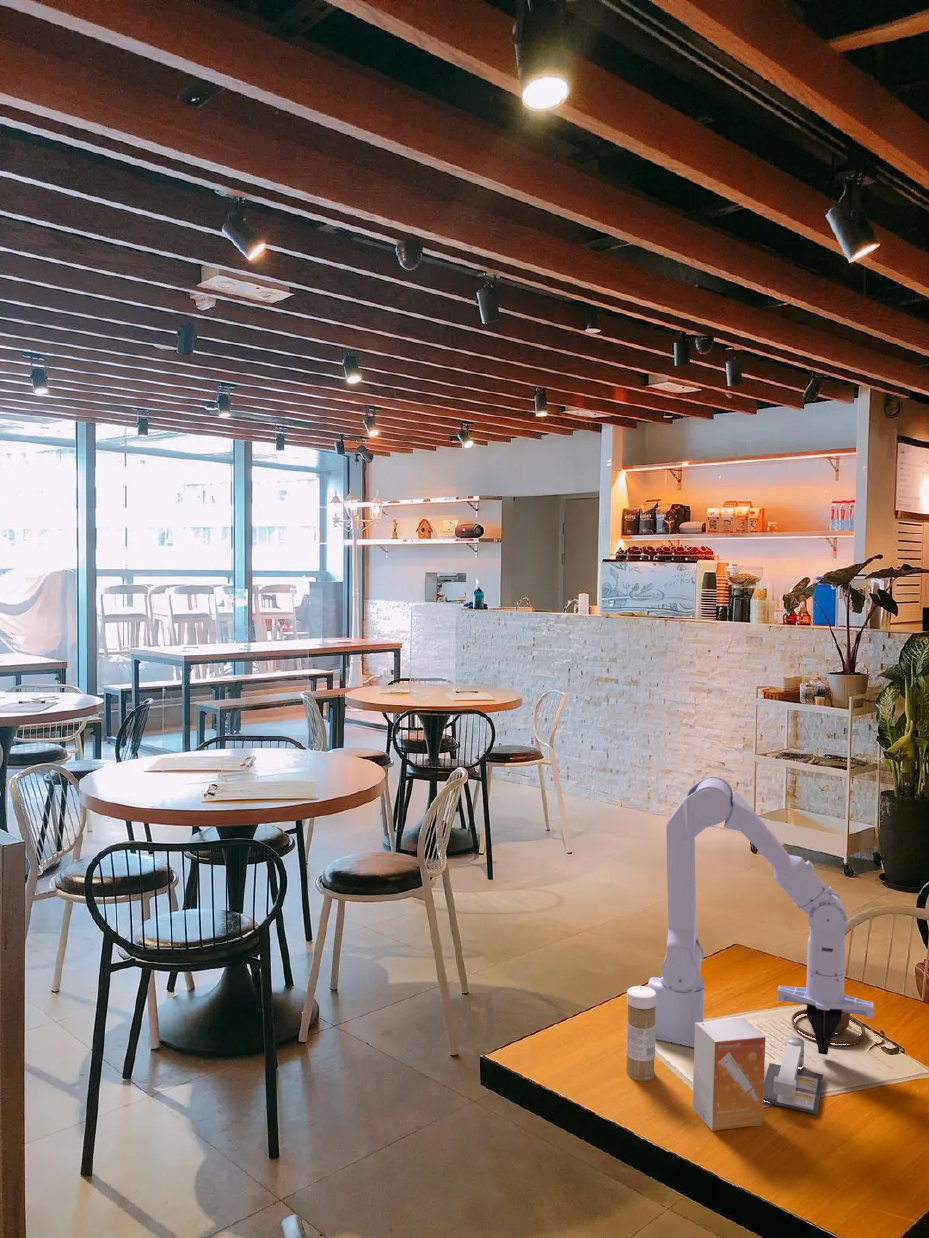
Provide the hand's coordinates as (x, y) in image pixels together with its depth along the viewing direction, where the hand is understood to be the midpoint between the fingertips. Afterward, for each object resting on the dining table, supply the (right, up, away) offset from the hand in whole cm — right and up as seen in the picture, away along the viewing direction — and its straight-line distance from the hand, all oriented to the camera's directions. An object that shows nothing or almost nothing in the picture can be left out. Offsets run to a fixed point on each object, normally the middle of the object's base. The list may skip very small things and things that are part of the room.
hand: (823, 1051), depth 155 cm
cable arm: (-8, +1, -9) cm, 12 cm away
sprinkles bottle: (-31, -1, -6) cm, 32 cm away
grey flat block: (-8, -1, -8) cm, 12 cm away
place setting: (+7, -2, +13) cm, 15 cm away
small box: (-20, -2, -18) cm, 27 cm away
